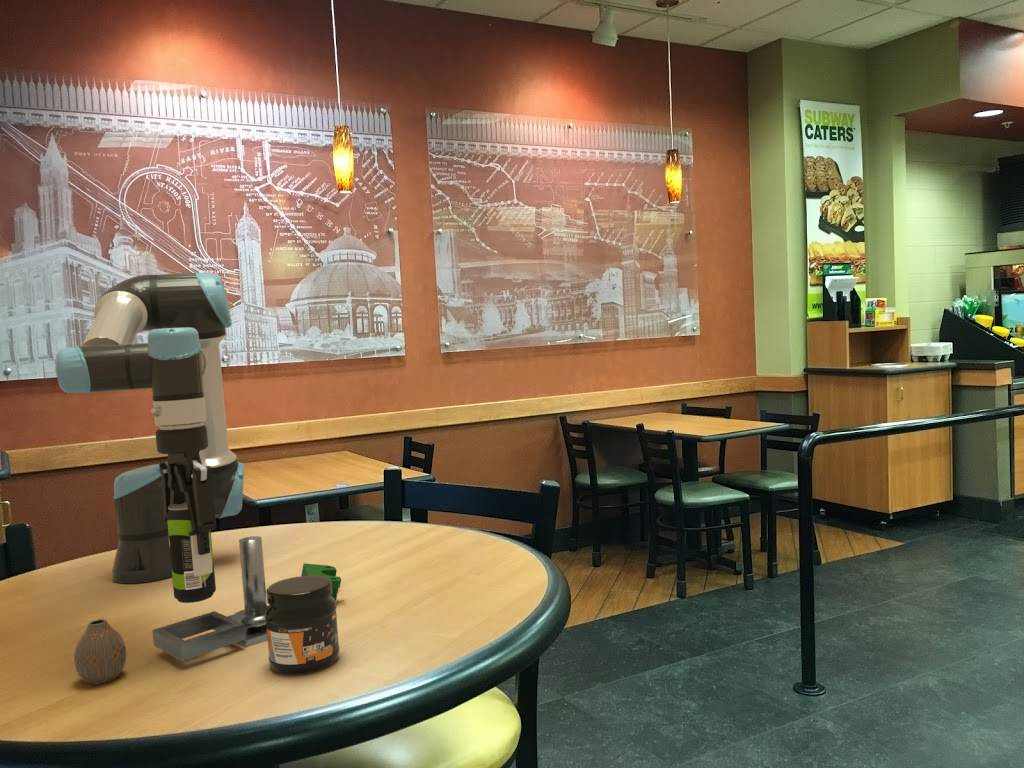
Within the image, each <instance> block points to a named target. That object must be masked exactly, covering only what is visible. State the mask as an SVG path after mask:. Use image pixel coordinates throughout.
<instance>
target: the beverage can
mask: <svg viewBox="0 0 1024 768" xmlns="http://www.w3.org/2000/svg"><path fill="white" fill-rule="evenodd" d="M168 509H169V512H168V513H167V522H168V534H169V545H170V556H171V567H172V577H171V578H172V587H173V588H172V589H173V590H172V591H173V597H174V599H176V600H177V601H178V602H179V603H182V604H191V603H198V602H202V601H206V600H208V599H210V598H212V597H213V595H214V593H215V592H216V590H217V585H216V577H215V576H216V574H215V573H216V572H215V564H214V563H215V562H214V552H213V549H214V548H213V541H212V540H213V539H212V538H213V537H212V531H211V532H209V535H210V546H211V558H212V570H213V572H212V573H208V574H205V575H201V576H197V577H195V576H194V572H193V561H192V549H191V538H190V536H189V534H188V533H189V532H192V531H193V530H192V525H191V521H190V516H189V512H188V507H187V503H186V502H184V503H182V504H173V505H170V506H169V507H168Z"/></svg>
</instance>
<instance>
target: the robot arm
mask: <svg viewBox="0 0 1024 768" xmlns="http://www.w3.org/2000/svg"><path fill="white" fill-rule="evenodd" d="M93 315H94V321H93V323H92V324H91V327H90V329H89V330H88V333H87V334H86V336H85V339H84V340H83V342H82V345H81V346H78V345H75V346H71V347H63V348H60V349H59V350H58V352H57V355H56V358H55V371H56V378H57V382H58V385H59V388H60V389H61V390H62V391H63V392H64V393H66V394H85V395H86V394H87V395H88V394H91V393H92V394H93V393H103V392H117V391H127V390H128V391H129V390H142V389H151V390H152V392H151V393H152V405H153V407H152V408H151V409H150V413H151V414H153V417H154V425H155V426H156V427H159V429H156V431H155V441H156V442H155V443H156V451H157V452H158V453H159V454H161V455H167V459H166V461H163V462H159V463H156V464H150V465H146V466H143V467H142V466H141V467H138V468H134V469H131V470H128V471H125V472H123V473H120V474H119V475H118V476H116V477H115V479H114V482H113V496H112V497H113V498H112V499H113V500H114V506H115V517H116V527H117V537H118V545H117V548H116V552H115V555H114V556H115V557H114V560H113V565H112V568H111V569H112V573H111V574H112V580H113V582H116V583H118V584H119V583H121V584H139V583H149V582H155V581H160V580H164V579H168V578H172V567H171V556H170V545H169V534H168V522H167V513H168V512H169V509H168V507H169V506H170V505H173V504H182V503H184V502H186V503H187V507H188V512H189V516H190V521H191V525H192V530H193V531H192V532H189V533H188V534H189V536H190V538H191V549H192V561H193V572H194V576H195V577H197V576H201V575H205V574H208V573H212V572H213V570H212V558H211V546H210V535H209V532H211V533H212V530H216V529H217V519H222V518H225V517H231V516H236V515H238V514H239V513H241V511H242V508H243V500H244V499H243V496H244V476H245V464H244V463H243V462H240V461H239V462H238V458H237V457H238V456H237V454H236V453H235V452H233V451H232V450H230V449H229V438H228V428H227V417H226V406H225V394H224V384H223V375H222V362H221V361H222V360H221V351H220V343H221V342H222V340H224V338H225V337H226V333H227V332H226V329H229V328H231V327H232V325H233V322H232V316H231V311H230V305H229V300H228V297H227V293H226V289H225V286H224V281H223V279H222V278H221V276H220V275H218V274H217V273H213V272H212V273H211V272H183V273H166V274H165V273H164V274H163V273H162V274H142V275H137V276H133V277H129V278H127V279H125V280H123V281H120V282H119V283H116V284H115V285H113V286H111V287H110V288H108V289H107V290H105V292H103V293H102V294H101V295H100V296H99V299H97V301H96V304H95V306H94V310H93ZM141 332H148V334H147V342H145V343H144V342H143V343H134V341H135V340H136V336H137V334H139V333H141Z"/></svg>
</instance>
